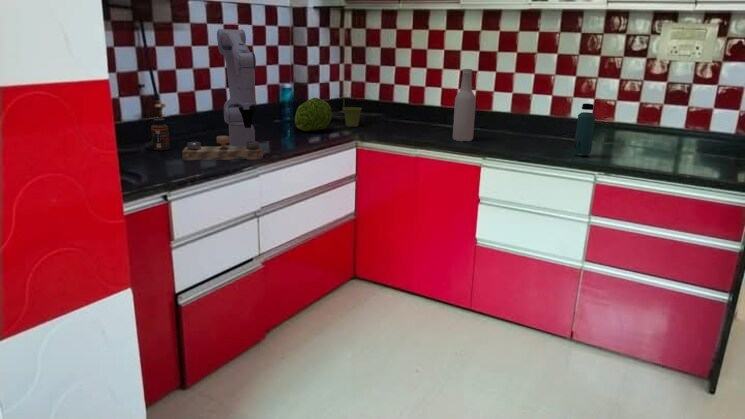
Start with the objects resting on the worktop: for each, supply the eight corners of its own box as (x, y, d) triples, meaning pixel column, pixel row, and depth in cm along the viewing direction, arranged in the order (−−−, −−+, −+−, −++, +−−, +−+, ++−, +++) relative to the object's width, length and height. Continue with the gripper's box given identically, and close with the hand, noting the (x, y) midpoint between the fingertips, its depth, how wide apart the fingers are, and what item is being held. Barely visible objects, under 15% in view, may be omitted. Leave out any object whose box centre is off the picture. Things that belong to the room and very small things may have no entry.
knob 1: (187, 155, 195) (186, 144, 194) (189, 153, 199) (188, 141, 198) (200, 155, 195) (199, 144, 194) (202, 152, 200) (201, 141, 198)
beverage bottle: (593, 156, 215) (600, 103, 210) (586, 158, 211) (593, 105, 205) (576, 153, 220) (583, 102, 214) (569, 156, 215) (576, 103, 209)
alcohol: (449, 140, 242) (454, 68, 233) (456, 137, 250) (460, 68, 241) (469, 142, 238) (474, 69, 229) (475, 139, 246) (480, 69, 237)
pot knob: (216, 149, 196) (216, 137, 195) (217, 146, 200) (217, 135, 199) (229, 149, 196) (229, 137, 195) (230, 146, 201) (229, 135, 199)
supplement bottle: (162, 151, 206) (159, 120, 203) (149, 150, 208) (146, 119, 205) (173, 148, 211) (171, 118, 208) (160, 147, 214) (158, 117, 210)
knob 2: (246, 154, 198) (245, 143, 197) (246, 152, 202) (246, 141, 201) (258, 154, 199) (258, 143, 198) (259, 152, 203) (258, 141, 202)
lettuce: (288, 135, 267) (320, 137, 273) (301, 127, 244) (336, 129, 250) (288, 104, 267) (320, 106, 273) (301, 93, 244) (336, 95, 250)
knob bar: (182, 160, 193) (182, 151, 192) (186, 155, 201) (185, 146, 200) (262, 159, 197) (262, 150, 196) (263, 154, 206) (262, 146, 205)
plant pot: (338, 125, 274) (338, 108, 272) (351, 124, 281) (351, 106, 279) (352, 128, 268) (353, 109, 266) (365, 126, 275) (365, 108, 273)
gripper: (235, 86, 200) (237, 124, 204) (233, 90, 187) (235, 131, 191) (255, 86, 201) (257, 124, 205) (254, 90, 188) (256, 130, 192)
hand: (248, 127), depth 198 cm, fingers closed
